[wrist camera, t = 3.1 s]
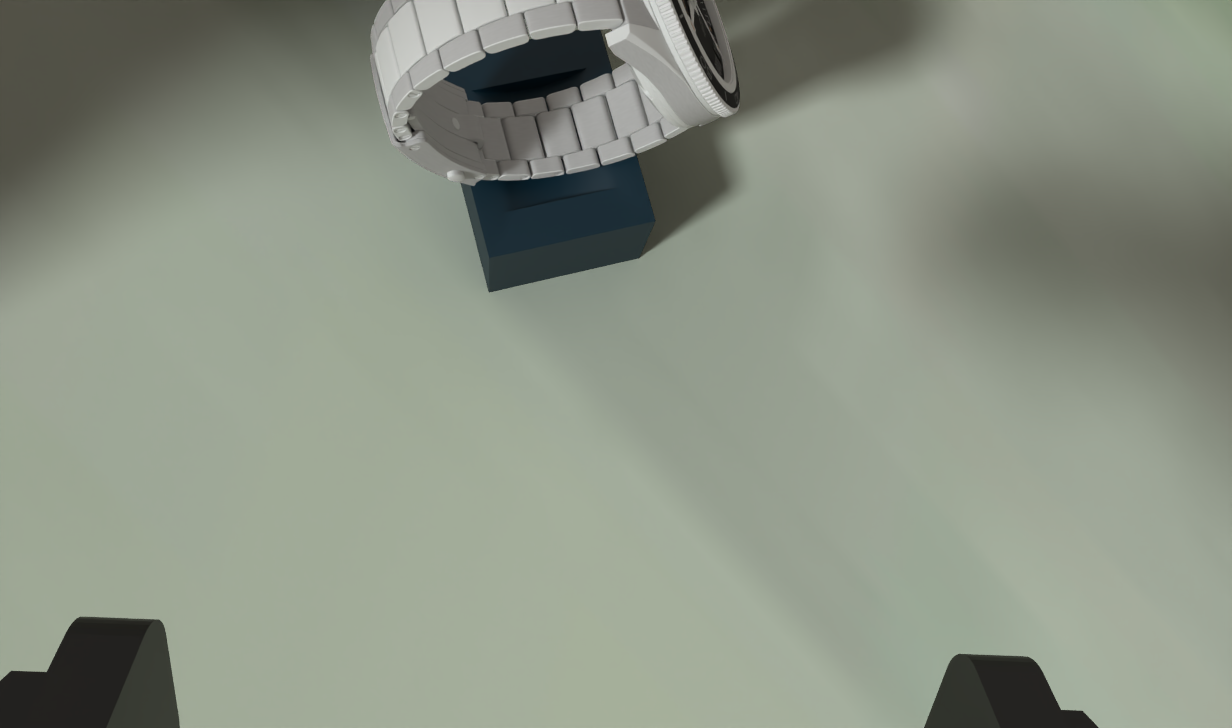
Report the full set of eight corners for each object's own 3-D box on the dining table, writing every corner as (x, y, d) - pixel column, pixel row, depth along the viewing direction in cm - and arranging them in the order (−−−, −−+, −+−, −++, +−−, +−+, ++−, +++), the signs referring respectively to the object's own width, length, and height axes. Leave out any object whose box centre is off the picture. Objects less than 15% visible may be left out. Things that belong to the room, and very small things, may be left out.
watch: (705, 242, 31) (818, 58, 21) (425, 307, 30) (392, 144, 19) (652, 64, 32) (734, -199, 22) (379, 119, 31) (323, -134, 20)
